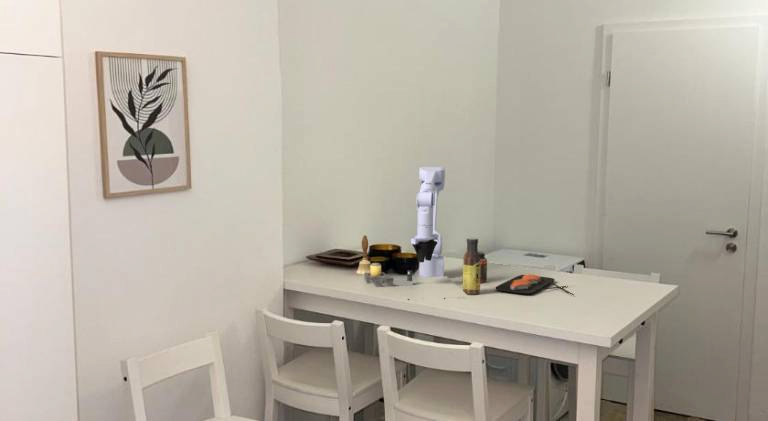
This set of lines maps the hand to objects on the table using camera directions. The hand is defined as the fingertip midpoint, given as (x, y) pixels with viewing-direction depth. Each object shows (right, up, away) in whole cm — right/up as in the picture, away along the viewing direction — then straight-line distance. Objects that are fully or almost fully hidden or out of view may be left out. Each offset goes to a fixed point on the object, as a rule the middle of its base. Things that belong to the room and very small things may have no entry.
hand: (424, 261), depth 277 cm
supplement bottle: (+21, -9, +12) cm, 26 cm away
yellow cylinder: (-18, -8, +6) cm, 21 cm away
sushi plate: (+45, -11, +1) cm, 46 cm away
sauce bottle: (+16, -11, -7) cm, 21 cm away
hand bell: (-22, -7, +21) cm, 32 cm away
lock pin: (-8, -9, 0) cm, 12 cm away
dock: (-13, -9, +5) cm, 17 cm away
